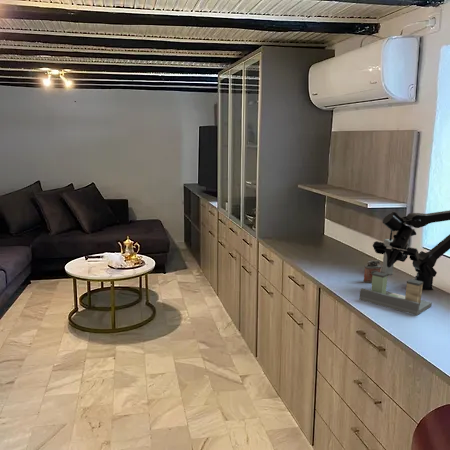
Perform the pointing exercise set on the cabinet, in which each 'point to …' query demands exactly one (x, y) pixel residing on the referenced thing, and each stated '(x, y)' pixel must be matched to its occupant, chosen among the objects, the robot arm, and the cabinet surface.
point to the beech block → (414, 290)
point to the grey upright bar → (384, 267)
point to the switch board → (394, 301)
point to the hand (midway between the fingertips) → (388, 266)
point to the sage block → (379, 282)
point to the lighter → (371, 270)
